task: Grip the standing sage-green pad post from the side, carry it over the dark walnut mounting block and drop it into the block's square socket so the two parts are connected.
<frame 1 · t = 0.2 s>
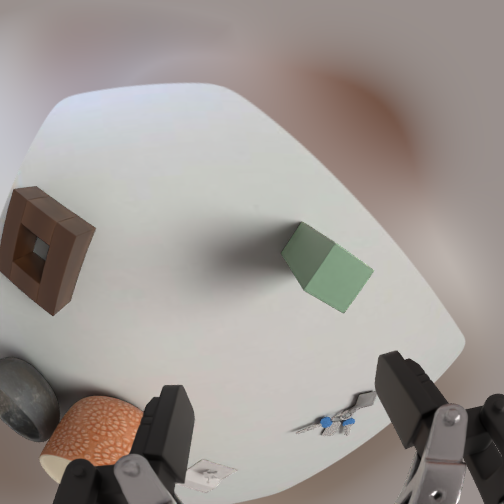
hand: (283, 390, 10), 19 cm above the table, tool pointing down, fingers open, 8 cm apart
light grey flat piece: (204, 474, 39), on the table
mount block: (50, 244, 27), on the table
planter: (122, 418, 34), on the table
bowl: (37, 379, 32), on the table
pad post: (306, 247, 29), on the table
key chain: (343, 418, 37), on the table
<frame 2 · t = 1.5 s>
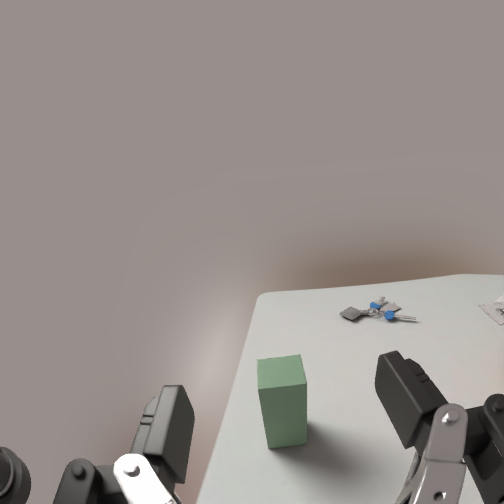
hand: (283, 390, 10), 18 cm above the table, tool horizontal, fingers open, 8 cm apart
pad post: (286, 433, 25), on the table
key chain: (377, 310, 46), on the table
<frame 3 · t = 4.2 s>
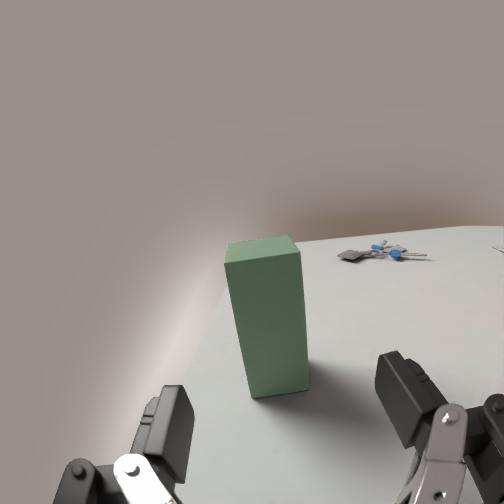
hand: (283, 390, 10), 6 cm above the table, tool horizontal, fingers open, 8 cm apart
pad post: (277, 376, 19), on the table
key chain: (380, 253, 41), on the table
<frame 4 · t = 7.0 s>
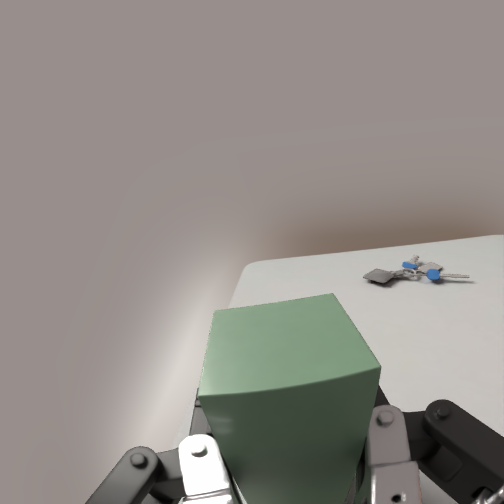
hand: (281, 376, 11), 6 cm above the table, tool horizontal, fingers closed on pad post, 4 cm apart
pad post: (295, 486, 10), on the table, touching gripper
key chain: (413, 272, 31), on the table
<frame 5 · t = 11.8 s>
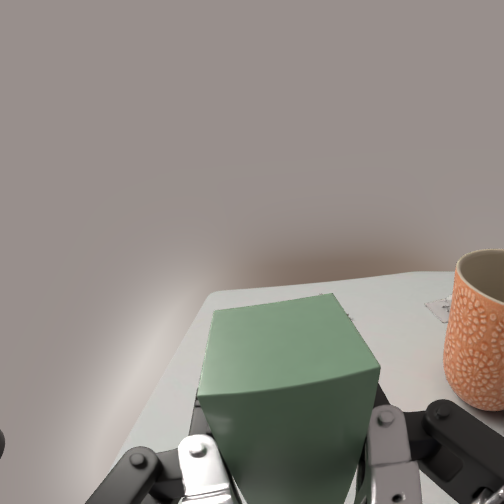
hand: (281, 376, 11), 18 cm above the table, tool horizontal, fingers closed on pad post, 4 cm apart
light grey flat piece: (456, 307, 40), on the table
planter: (486, 382, 22), on the table
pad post: (295, 486, 10), point 12 cm above the table, touching gripper
when the fingers open (7 cm above the table, at t = 16.6 s): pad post stays where it is, resting in mount block.
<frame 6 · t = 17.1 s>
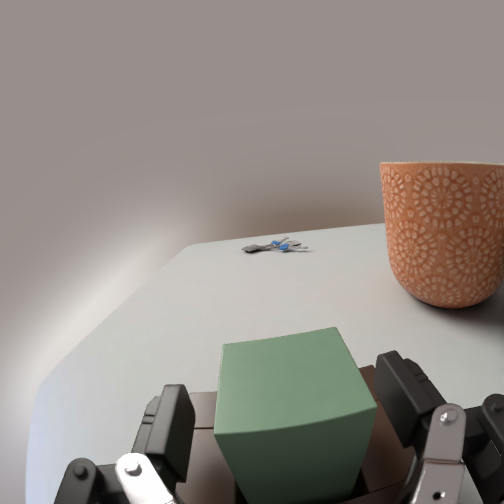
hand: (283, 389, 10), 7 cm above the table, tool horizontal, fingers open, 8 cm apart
mount block: (298, 495, 10), on the table
planter: (446, 290, 27), on the table
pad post: (298, 495, 10), resting in mount block
key chain: (277, 246, 57), on the table
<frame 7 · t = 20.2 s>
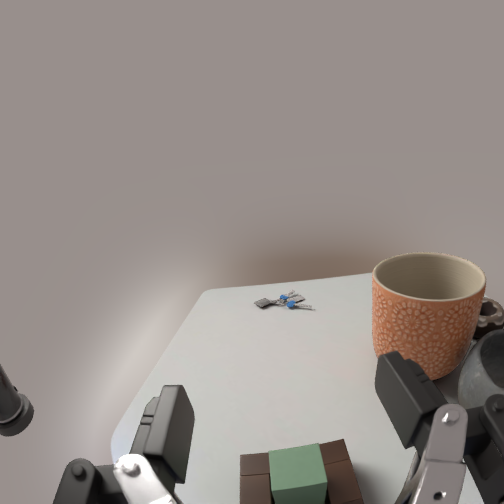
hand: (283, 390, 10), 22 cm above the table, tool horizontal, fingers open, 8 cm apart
donut: (478, 326, 37), on the table
planter: (417, 360, 35), on the table
bowl: (491, 415, 20), on the table
key chain: (285, 301, 65), on the table
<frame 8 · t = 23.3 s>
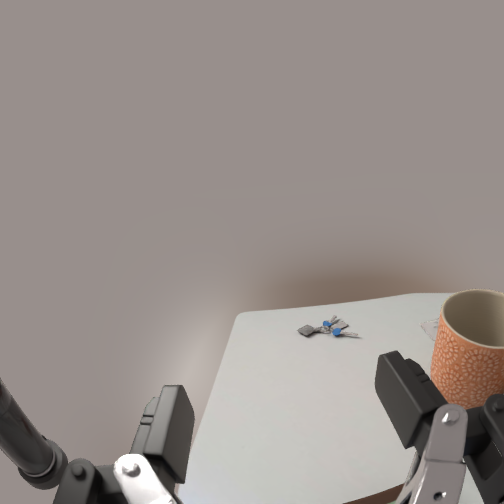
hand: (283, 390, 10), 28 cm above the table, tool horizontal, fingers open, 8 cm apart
light grey flat piece: (446, 326, 50), on the table
planter: (464, 389, 32), on the table
key chain: (328, 327, 61), on the table
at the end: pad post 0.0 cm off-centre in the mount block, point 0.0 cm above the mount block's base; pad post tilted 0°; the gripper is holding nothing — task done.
